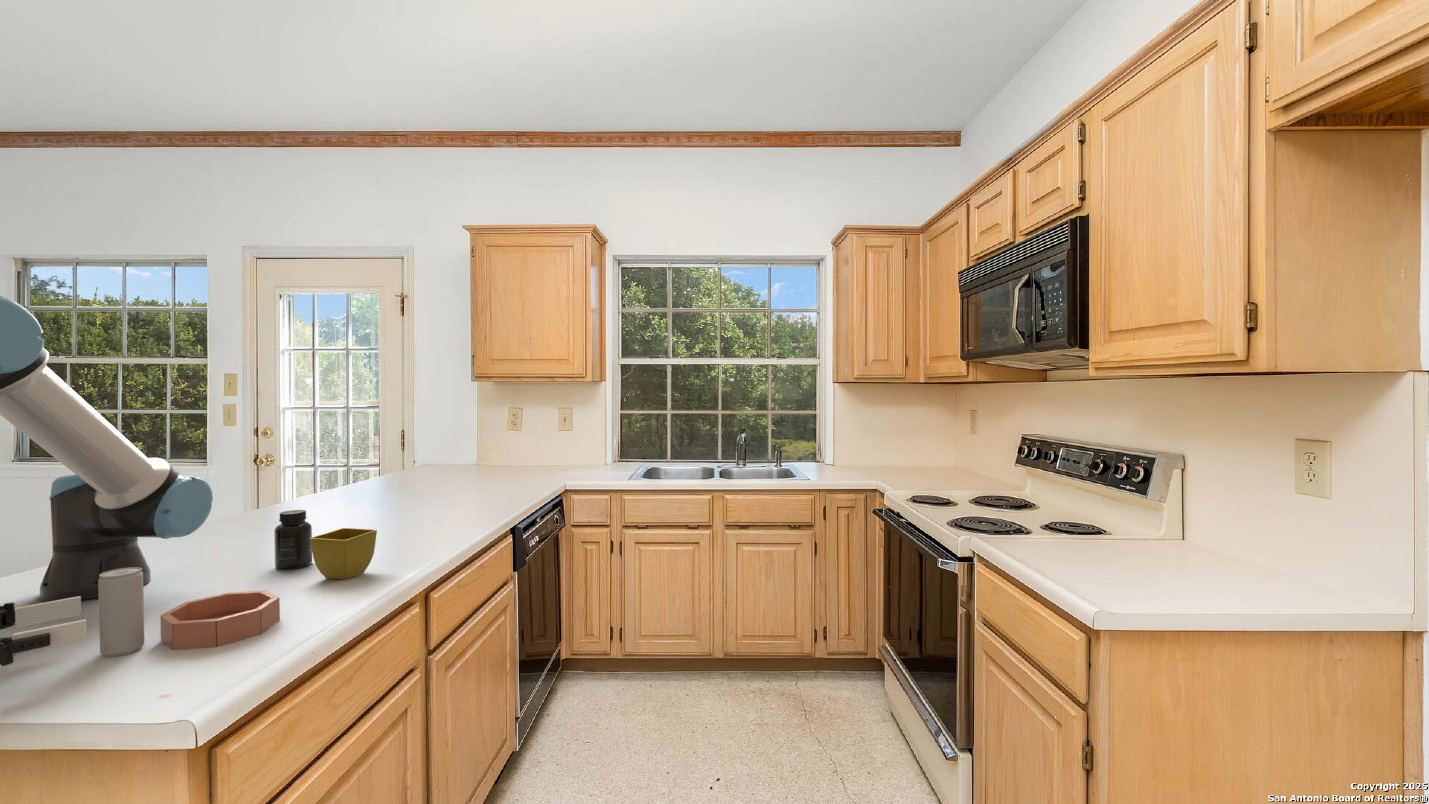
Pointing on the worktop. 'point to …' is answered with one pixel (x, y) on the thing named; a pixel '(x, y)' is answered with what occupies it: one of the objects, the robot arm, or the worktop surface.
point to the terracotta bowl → (219, 619)
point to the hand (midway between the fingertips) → (84, 616)
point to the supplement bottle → (293, 540)
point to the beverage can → (121, 611)
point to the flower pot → (343, 552)
